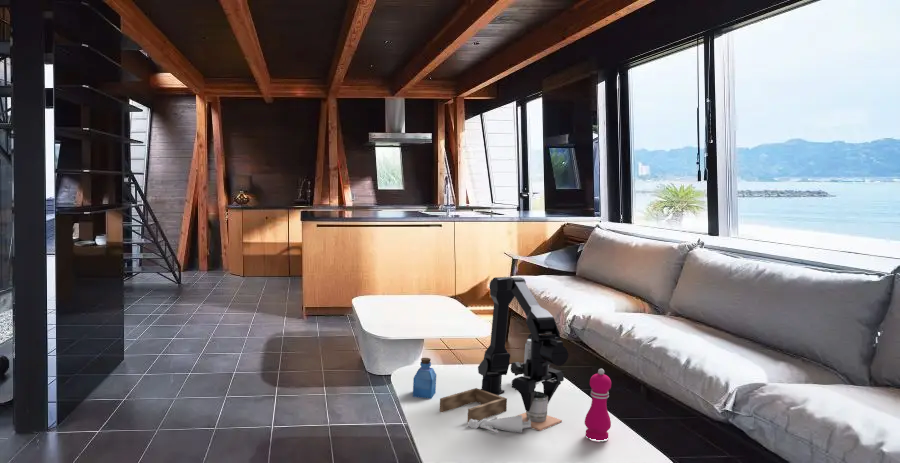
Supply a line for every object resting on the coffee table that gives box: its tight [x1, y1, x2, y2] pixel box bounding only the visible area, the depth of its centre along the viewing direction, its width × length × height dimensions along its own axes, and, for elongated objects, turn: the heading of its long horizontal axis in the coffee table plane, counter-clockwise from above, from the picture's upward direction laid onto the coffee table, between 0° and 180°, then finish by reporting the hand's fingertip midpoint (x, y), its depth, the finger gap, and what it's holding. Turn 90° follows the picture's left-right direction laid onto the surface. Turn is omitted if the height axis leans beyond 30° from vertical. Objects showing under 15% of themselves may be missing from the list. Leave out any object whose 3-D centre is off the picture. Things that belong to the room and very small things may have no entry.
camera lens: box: [525, 390, 549, 422], centre depth 194 cm, size 6×6×8 cm
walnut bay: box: [439, 387, 508, 423], centre depth 200 cm, size 17×13×4 cm
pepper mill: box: [584, 368, 612, 440], centre depth 183 cm, size 7×7×20 cm
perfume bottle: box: [412, 357, 437, 400], centre depth 213 cm, size 6×6×12 cm
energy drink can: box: [522, 338, 531, 379], centre depth 234 cm, size 6×6×15 cm
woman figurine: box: [467, 414, 531, 434], centre depth 187 cm, size 12×4×18 cm
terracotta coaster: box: [516, 412, 563, 432], centre depth 195 cm, size 11×11×1 cm
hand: (536, 407), depth 194 cm, fingers open, 9 cm apart
